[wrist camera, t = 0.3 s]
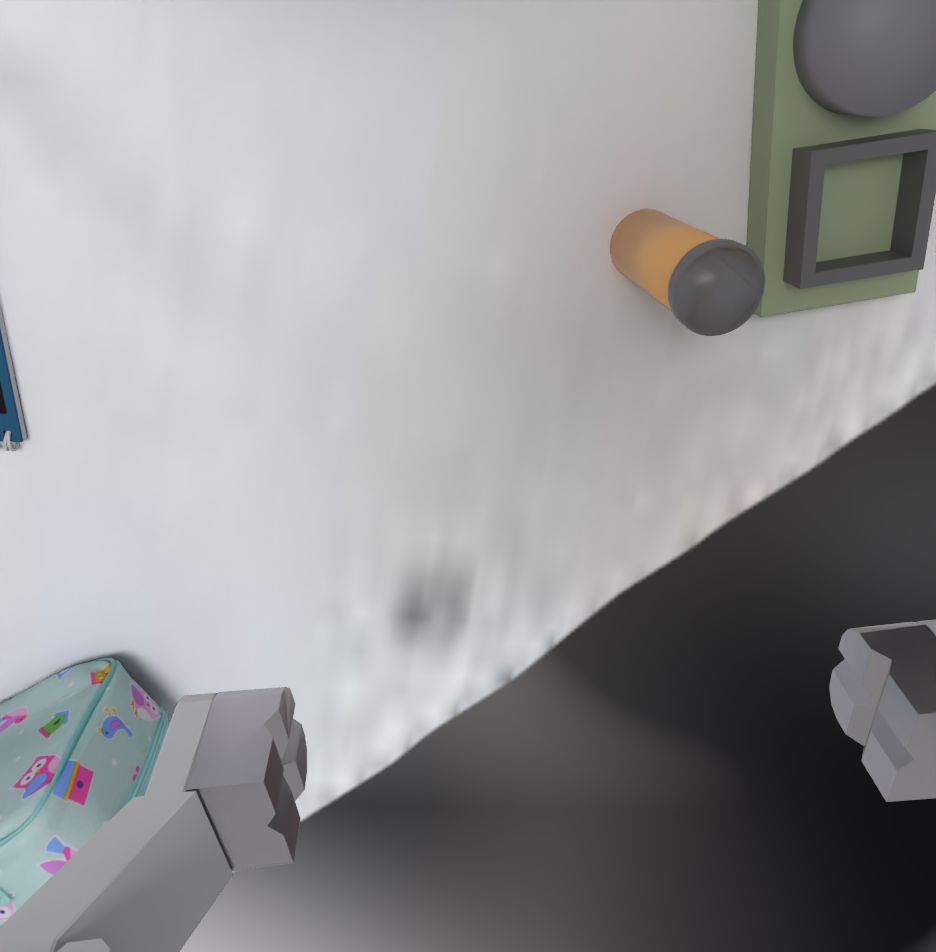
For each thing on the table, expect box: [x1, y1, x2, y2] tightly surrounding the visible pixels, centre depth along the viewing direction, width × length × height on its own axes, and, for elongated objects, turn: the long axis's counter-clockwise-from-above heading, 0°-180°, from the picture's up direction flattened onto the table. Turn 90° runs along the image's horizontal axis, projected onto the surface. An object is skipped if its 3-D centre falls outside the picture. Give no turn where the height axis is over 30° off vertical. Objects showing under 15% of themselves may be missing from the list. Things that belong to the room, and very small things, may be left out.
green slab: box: [747, 0, 936, 317], centre depth 50 cm, size 24×12×6 cm, turn 7°
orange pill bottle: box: [610, 209, 765, 336], centre depth 49 cm, size 5×5×14 cm
